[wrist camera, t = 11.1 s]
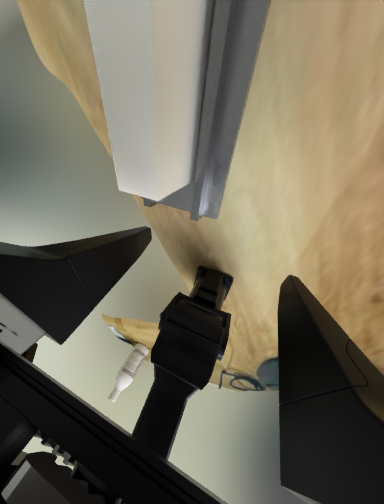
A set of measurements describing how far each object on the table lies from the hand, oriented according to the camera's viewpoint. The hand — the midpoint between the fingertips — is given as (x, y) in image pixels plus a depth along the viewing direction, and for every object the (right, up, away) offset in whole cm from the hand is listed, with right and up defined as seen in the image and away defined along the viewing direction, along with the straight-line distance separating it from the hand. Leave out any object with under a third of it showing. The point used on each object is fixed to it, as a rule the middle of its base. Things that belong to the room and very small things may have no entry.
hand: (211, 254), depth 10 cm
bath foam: (-24, -45, +63) cm, 81 cm away
